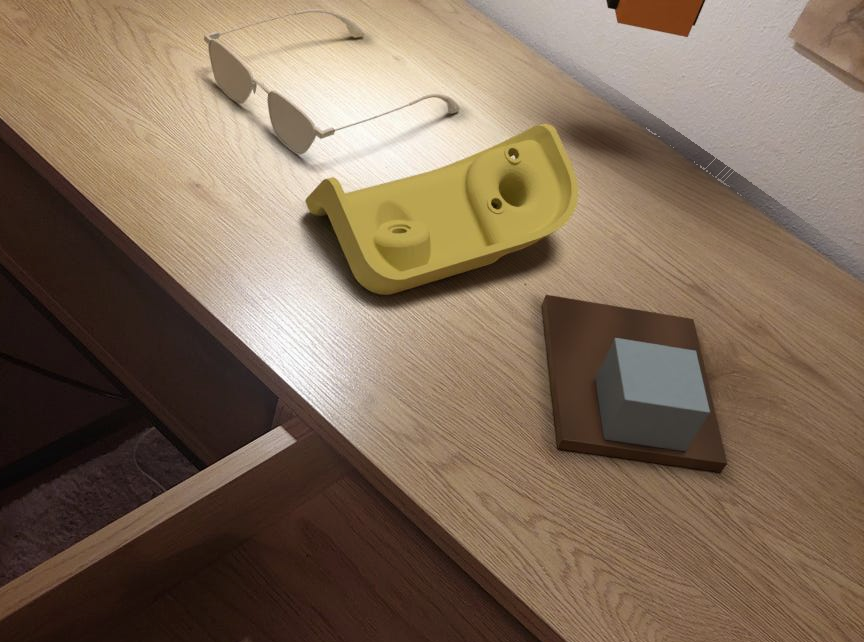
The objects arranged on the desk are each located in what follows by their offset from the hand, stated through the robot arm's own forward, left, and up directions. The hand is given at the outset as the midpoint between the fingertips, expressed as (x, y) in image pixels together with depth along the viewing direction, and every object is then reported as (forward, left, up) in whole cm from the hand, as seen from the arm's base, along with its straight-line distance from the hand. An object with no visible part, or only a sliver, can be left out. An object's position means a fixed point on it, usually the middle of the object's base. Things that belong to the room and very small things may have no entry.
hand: (649, 8), depth 88 cm
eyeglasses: (+24, 0, -13) cm, 27 cm away
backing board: (+1, +31, -12) cm, 34 cm away
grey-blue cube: (+1, +35, -11) cm, 37 cm away
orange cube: (0, 0, 0) cm, 0 cm away
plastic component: (+15, +18, -13) cm, 27 cm away
